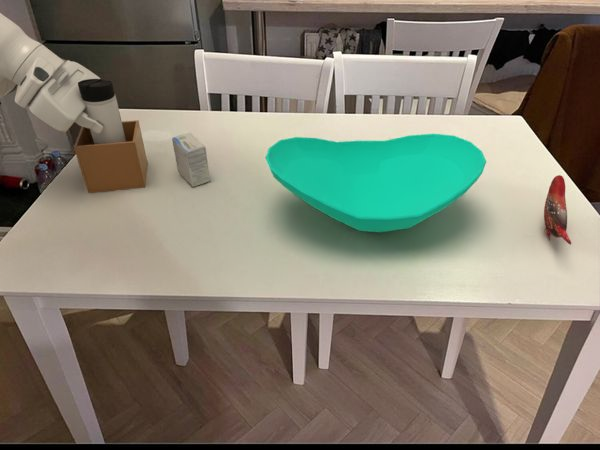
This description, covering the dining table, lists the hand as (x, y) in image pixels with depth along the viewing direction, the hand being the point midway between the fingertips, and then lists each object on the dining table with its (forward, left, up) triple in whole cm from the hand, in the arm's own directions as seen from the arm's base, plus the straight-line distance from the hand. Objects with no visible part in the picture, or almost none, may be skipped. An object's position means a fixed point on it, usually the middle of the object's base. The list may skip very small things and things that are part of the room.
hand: (107, 121), depth 94 cm
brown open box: (0, 0, -13) cm, 13 cm away
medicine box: (+16, -3, -13) cm, 21 cm away
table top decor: (+49, -24, -13) cm, 56 cm away
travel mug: (-1, 0, -11) cm, 12 cm away
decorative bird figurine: (+79, -38, -13) cm, 89 cm away
